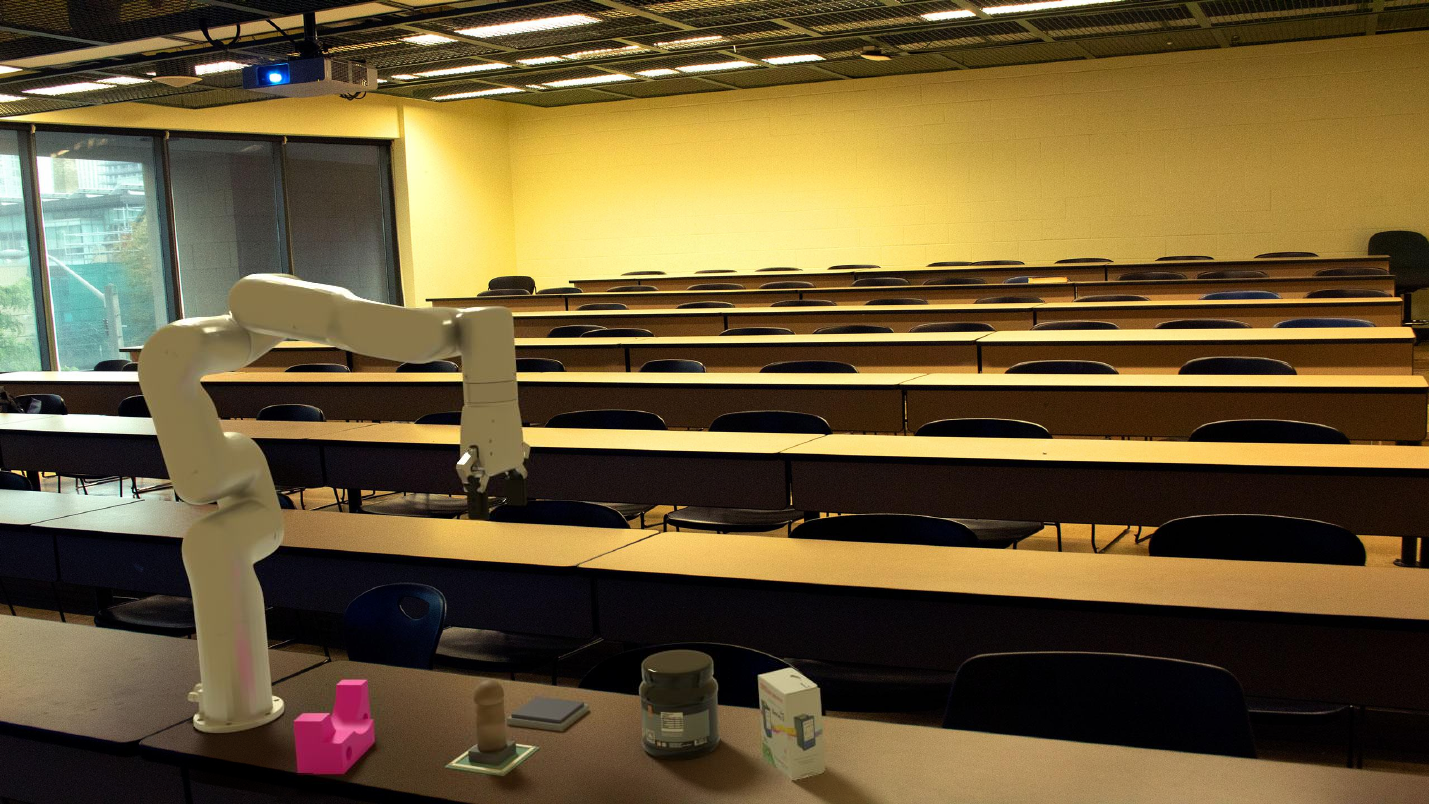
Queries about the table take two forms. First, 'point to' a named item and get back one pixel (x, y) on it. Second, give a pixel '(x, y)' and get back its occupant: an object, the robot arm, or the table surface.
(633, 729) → the table surface
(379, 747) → the table surface
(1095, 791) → the table surface
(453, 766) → the mat
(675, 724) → the supplement container
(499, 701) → the stamp
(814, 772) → the ink box
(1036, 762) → the table surface
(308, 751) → the toy block
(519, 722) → the ink pad
